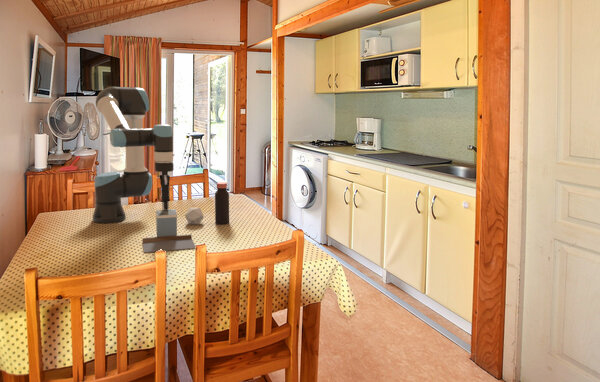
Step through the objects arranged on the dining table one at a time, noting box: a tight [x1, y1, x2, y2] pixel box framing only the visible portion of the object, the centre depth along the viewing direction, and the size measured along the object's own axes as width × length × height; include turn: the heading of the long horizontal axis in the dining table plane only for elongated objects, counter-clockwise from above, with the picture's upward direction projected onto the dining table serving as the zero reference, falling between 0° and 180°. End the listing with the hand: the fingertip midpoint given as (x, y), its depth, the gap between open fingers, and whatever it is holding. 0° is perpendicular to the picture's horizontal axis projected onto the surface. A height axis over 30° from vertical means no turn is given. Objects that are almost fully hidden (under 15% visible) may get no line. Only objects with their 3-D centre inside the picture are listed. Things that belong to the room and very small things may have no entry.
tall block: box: [155, 208, 178, 237], centre depth 199 cm, size 5×8×12 cm, turn 111°
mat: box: [142, 239, 196, 254], centre depth 191 cm, size 14×20×1 cm
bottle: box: [214, 181, 230, 226], centre depth 228 cm, size 7×7×20 cm
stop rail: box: [142, 233, 193, 243], centre depth 198 cm, size 1×20×2 cm, turn 111°
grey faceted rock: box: [184, 207, 205, 225], centre depth 227 cm, size 8×9×10 cm
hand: (165, 216), depth 201 cm, fingers closed
